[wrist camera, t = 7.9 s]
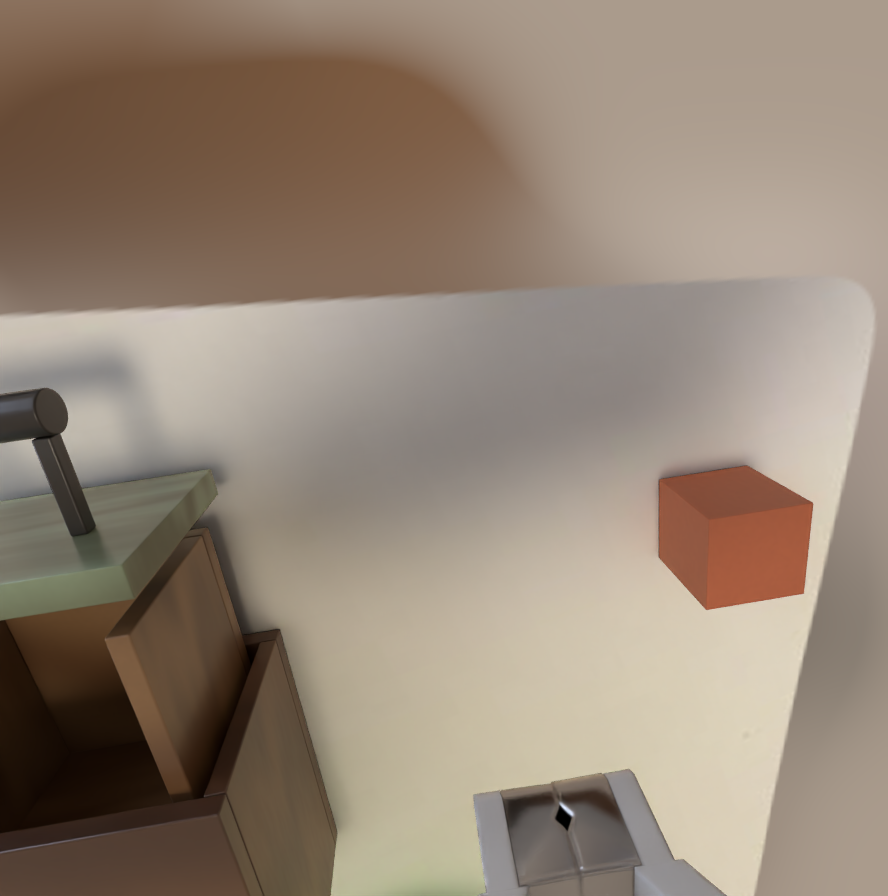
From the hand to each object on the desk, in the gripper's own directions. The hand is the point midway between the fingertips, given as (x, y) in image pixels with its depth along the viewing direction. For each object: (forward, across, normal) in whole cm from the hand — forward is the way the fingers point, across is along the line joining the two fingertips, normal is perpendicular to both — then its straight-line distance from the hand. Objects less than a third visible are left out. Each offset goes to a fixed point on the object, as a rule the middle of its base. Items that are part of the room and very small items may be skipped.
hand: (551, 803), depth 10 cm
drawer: (+15, +16, +2) cm, 22 cm away
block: (+16, -12, +4) cm, 20 cm away
